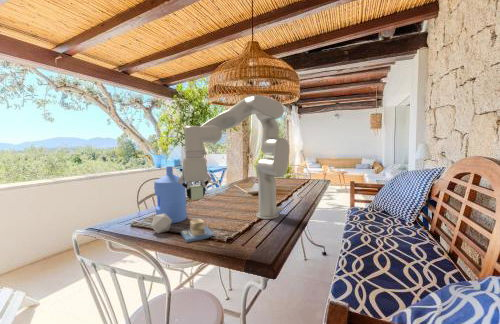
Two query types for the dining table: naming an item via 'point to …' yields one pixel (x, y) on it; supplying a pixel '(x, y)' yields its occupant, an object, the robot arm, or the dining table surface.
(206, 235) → the board
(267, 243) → the dining table surface
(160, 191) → the water jug
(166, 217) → the die
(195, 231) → the pine block
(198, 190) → the green block
